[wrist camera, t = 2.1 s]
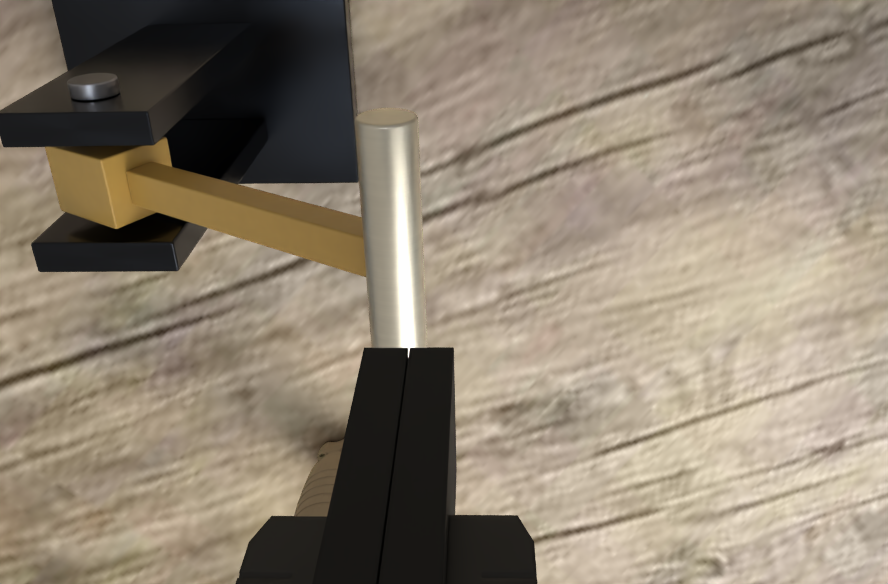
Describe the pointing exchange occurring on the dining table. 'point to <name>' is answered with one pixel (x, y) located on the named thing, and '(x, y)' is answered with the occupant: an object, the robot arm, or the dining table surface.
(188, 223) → the bracket
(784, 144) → the dining table surface
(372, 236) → the lever
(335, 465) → the handle
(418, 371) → the robot arm
